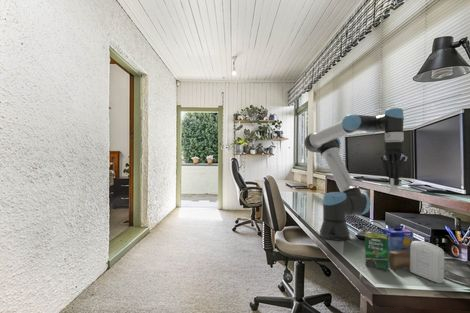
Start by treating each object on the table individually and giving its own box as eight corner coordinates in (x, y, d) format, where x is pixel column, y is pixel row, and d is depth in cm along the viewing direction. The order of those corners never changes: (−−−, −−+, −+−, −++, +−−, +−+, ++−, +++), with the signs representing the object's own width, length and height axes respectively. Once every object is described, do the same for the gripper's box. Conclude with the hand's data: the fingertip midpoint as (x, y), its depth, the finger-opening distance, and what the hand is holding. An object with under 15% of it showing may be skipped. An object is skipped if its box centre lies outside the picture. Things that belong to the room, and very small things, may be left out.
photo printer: (446, 282, 88) (446, 246, 88) (439, 284, 86) (439, 248, 86) (415, 270, 98) (415, 237, 98) (407, 272, 96) (407, 239, 96)
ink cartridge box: (391, 262, 105) (391, 226, 105) (381, 256, 110) (381, 223, 110) (412, 260, 106) (412, 225, 106) (402, 255, 112) (402, 222, 112)
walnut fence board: (389, 267, 100) (389, 251, 100) (426, 260, 106) (426, 246, 106) (394, 269, 98) (394, 254, 98) (432, 263, 104) (432, 248, 104)
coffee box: (364, 265, 102) (364, 232, 102) (366, 263, 104) (366, 230, 104) (387, 271, 97) (387, 236, 97) (389, 268, 99) (389, 234, 99)
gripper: (376, 142, 125) (376, 190, 125) (400, 140, 113) (400, 194, 113) (388, 142, 128) (388, 190, 128) (413, 141, 115) (413, 193, 115)
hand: (393, 192), depth 120 cm, fingers closed
